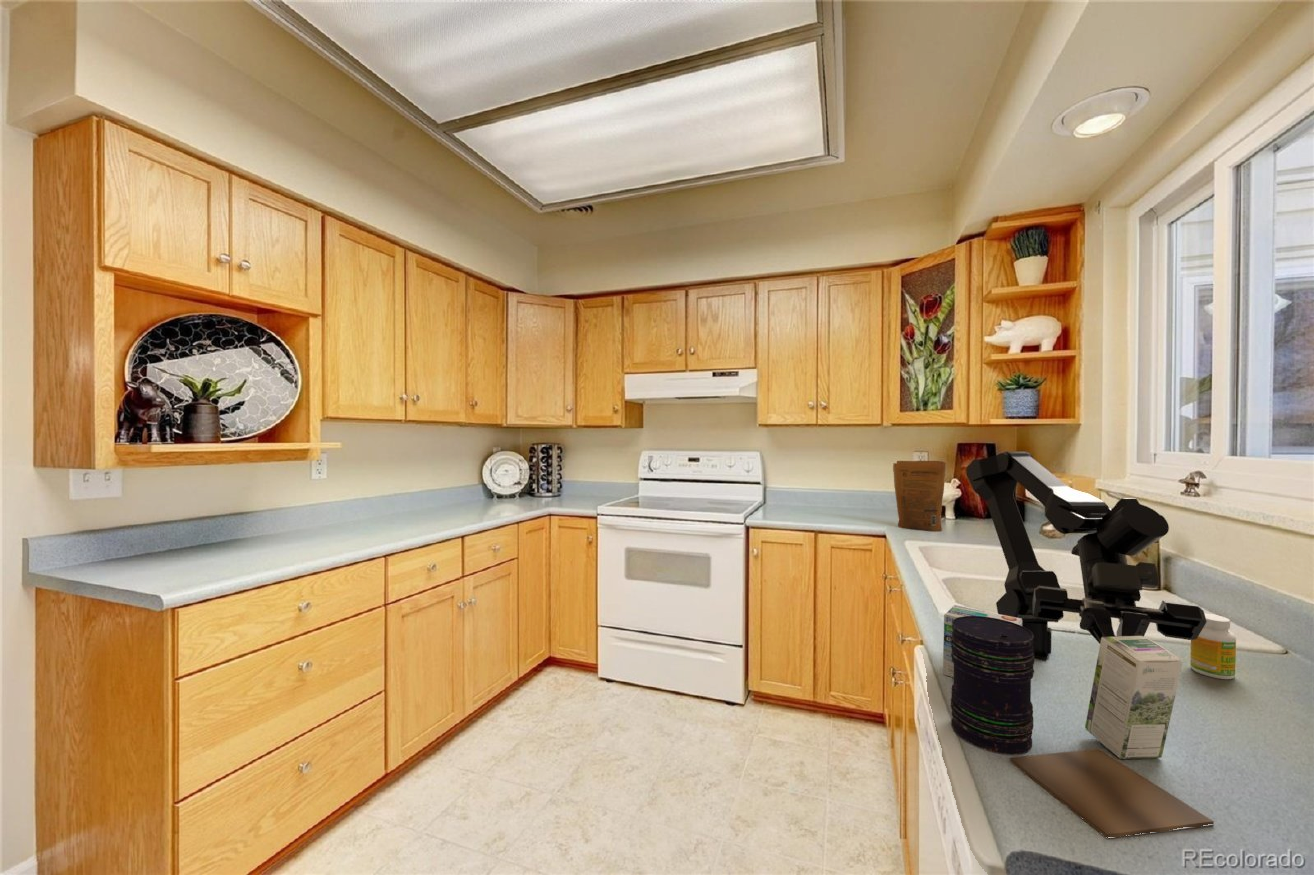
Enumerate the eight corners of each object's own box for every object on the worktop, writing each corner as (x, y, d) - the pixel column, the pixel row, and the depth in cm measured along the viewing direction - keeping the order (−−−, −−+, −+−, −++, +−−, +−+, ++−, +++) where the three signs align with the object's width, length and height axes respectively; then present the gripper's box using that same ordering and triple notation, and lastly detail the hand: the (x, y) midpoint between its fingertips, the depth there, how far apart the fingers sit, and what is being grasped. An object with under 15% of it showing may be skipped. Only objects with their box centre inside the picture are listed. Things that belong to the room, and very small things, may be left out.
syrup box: (1123, 727, 75) (1140, 632, 72) (1164, 760, 69) (1184, 658, 66) (1083, 729, 75) (1099, 633, 72) (1121, 762, 69) (1139, 660, 66)
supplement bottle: (1225, 682, 89) (1227, 625, 89) (1183, 669, 94) (1184, 614, 94) (1241, 676, 91) (1242, 620, 91) (1199, 663, 96) (1200, 609, 96)
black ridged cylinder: (937, 714, 80) (938, 615, 80) (1004, 714, 80) (1005, 615, 80) (974, 755, 70) (975, 642, 70) (1051, 756, 70) (1052, 643, 70)
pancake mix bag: (944, 533, 208) (945, 461, 208) (892, 528, 219) (892, 459, 219) (947, 530, 214) (947, 460, 213) (895, 525, 225) (896, 458, 224)
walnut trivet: (1107, 839, 56) (1107, 834, 56) (1010, 761, 69) (1010, 757, 69) (1213, 825, 58) (1213, 821, 58) (1099, 752, 71) (1099, 748, 71)
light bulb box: (941, 675, 93) (942, 613, 92) (952, 662, 98) (952, 603, 97) (1015, 696, 85) (1015, 629, 85) (1022, 681, 90) (1023, 618, 90)
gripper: (1034, 533, 82) (1042, 628, 73) (1202, 546, 73) (1236, 656, 64) (1029, 572, 89) (1036, 663, 80) (1181, 588, 80) (1209, 694, 70)
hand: (1121, 668), depth 73 cm, fingers closed
